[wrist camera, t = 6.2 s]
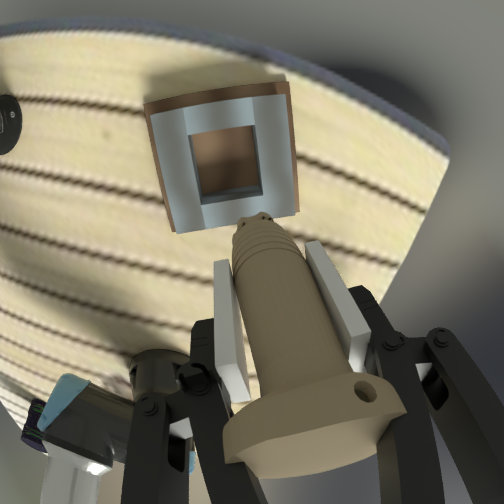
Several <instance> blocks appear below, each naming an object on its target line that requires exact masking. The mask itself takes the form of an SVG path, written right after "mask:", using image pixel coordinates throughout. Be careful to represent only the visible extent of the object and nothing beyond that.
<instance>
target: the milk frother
mask: <svg viewBox="0 0 504 504" xmlns="http://www.w3.org/2000/svg"><path fill="white" fill-rule="evenodd" d="M21 128H22V114H21V110H20V107H19V105H18V103H17V101H16V100H15V99H14V98H13V97H12V96H9V95H1V96H0V155H4V154H6V153H8V152H10V151H11V150H12V149H13V148H14V146H15V145H16V143H17V141H18V139H19V136H20V133H21Z"/></svg>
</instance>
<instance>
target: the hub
mask: <svg viewBox="0 0 504 504" xmlns="http://www.w3.org/2000/svg"><path fill="white" fill-rule="evenodd" d="M143 105H144V110H145V116H146V121H147V126H148V131H149V136H150V141H151V146H152V151H153V156H154V160H155V165H156V169H157V174H158V178H159V182H160V186H161V191H162V195H163V199H164V203H165V207H166V211H167V215H168V219H169V222H170V226H171V230H172V232H176V233H177V234H181V233H187V232H192V231H198V230H204V229H210V228H216V227H222V226H228V225H234V224H237V223H238V220H239V219H240V218H241V217H251V216H254V215H256V214H258V213H259V212H266V213H268V214H269V215H270V216H271V217H272V218H280V217H287V216H294V215H295V213H296V212H300V210H299V192H298V176H297V162H296V149H295V137H294V126H293V115H292V105H291V95H290V86H289V82H274V83H262V84H252V85H243V86H235V87H227V88H221V89H214V90H208V91H202V92H197V93H191V94H186V95H181V96H177V97H172V98H168V99H163V100H159V101H155V102H151V103H147V104H143Z"/></svg>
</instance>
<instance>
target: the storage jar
mask: <svg viewBox="0 0 504 504" xmlns="http://www.w3.org/2000/svg"><path fill="white" fill-rule="evenodd" d="M45 406H46V402H44V401H42V400H39V399H33V400H32V404H31V406H30V408H29V411H28V417H27V421H26V423H25V425H24V428H23V431H22V436H21V440H22V441H23V442H24V443H26V444H27V445H29V446H30V447H32V448H34V449H36V450H38V451H41V452H44V453H48V452H47V450H46V448H45V447H44V445H43V443H42V439H43V435H44V431H43V432H42V431H40V429H39V428H38V427H37V423H38V421H39V419H40V417H41V414H42V412H43V410H44V408H45Z"/></svg>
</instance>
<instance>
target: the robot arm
mask: <svg viewBox="0 0 504 504" xmlns="http://www.w3.org/2000/svg"><path fill="white" fill-rule="evenodd" d="M305 254H306V262H307V264H308V266H309V268H310V270H311V272H312V275H313V277H314V280H315V282H316V285H317V287H318V289H319V292H320V294H321V297H322V299H323V302H324V304H325V307H326V309H327V312H328V314H329V316H330V319H331V321H332V324H333V326H334V328H335V331H336V333H337V336H338V338H339V341H340V343H341V346H342V348H343V351H344V353H345V356H346V358H347V360H348V362H349V363H350V365H351V367H352V369H353V371H354V372H360V373H363V371H364V366H365V368H366V371H367V373H368V374H371V375H374V376H377V377H380V378H382V379H385V380H386V381H388V382H389V383H390V384H391V385H392V386H393V387H394V389H395V391H396V392H397V394H398V396H399V398H400V399H401V401H402V403H403V405H404V407H405V409H406V411H407V413H405V414H403V415H401V416H399V417H396V418H394V419H392V420H391V421H390V423H389V425H388V426H387V428H386V430H385V432H384V433H383V435H382V437H381V438H380V440H379V441H378V443H377V445H376V449H377V458H378V469H379V480H380V494H381V495H380V496H381V504H445V499H444V490H443V482H442V476H441V469H440V463H439V457H438V452H437V447H436V442H435V437H434V432H433V427H432V423H431V419H430V415H429V413H430V414H431V416H432V418H433V420H434V422H435V424H436V426H437V428H438V430H439V432H440V434H441V436H442V437H443V440H444V441H445V443H446V446H447V448H448V450H449V451H450V454H451V456H452V458H453V460H454V462H455V464H456V466H457V468H458V471H459V473H460V475H461V477H462V479H463V481H464V484H465V486H466V488H467V491H468V493H469V495H470V498H471V500H472V503H473V504H504V406H503V405H502V403H501V401H500V400H499V398H498V396H497V395H496V393H495V392H494V390H493V389H492V387H491V386H490V384H489V383H488V381H487V380H486V378H485V377H484V375H483V374H482V372H481V371H480V370H479V368H478V367H477V365H476V364H475V362H474V361H473V360H472V358H471V357H470V355H469V354H468V353H467V351H466V350H465V349H464V347H463V346H462V345H461V343H460V342H459V341H458V340H457V338H456V337H455V335H454V334H453V333H452V332H450V330H448V329H445V328H439V327H438V328H434V329H432V330H431V331H429V333H428V335H427V337H418V338H408V337H405V336H404V335H403V334H402V333H401V332H398V331H395V330H394V329H393V327H392V326H391V324H390V322H389V321H388V319H387V317H386V316H385V314H384V313H383V311H382V309H381V308H380V307H379V305H378V303H377V301H376V300H375V298H374V297H373V295H372V294H371V292H370V291H369V290H368V289H366V288H365V287H363V286H362V285H360V286H356V287H352V288H348V289H347V287H346V285H345V283H344V282H343V280H342V278H341V277H340V275H339V273H338V272H337V270H336V268H335V267H334V265H333V263H332V262H331V260H330V258H329V257H328V255H327V253H326V252H325V250H324V248H323V247H322V245H321V243H320V242H319V240H317V241H313V242H308V243H305ZM190 347H191V349H190V357H188V356H186V355H183V354H181V353H178V352H174V351H169V350H148V351H144V352H142V353H139V354H138V355H136V356H135V357H134V358H133V359H132V361H131V365H130V370H129V377H130V382H131V387H132V392H133V397H134V398H133V401H131V400H129V399H126V398H124V397H122V396H119V395H117V394H115V393H112V392H110V391H108V390H106V389H104V388H101V387H99V386H97V385H95V384H93V383H91V381H89V380H85V379H82V378H80V377H78V376H76V375H74V374H71V373H66V374H63V375H62V376H61V377H60V378H59V380H58V382H57V384H56V386H55V388H54V389H53V391H52V393H51V395H50V397H49V399H48V401H47V403H46V406H45V408H44V410H43V412H42V414H41V417H40V419H39V421H38V423H37V427H38V428H39V429H40V431H42V432H43V431H44V435H43V439H42V443H43V445H44V447H45V448H46V450H47V452H48V460H47V465H46V471H45V475H44V481H43V487H42V493H41V501H40V504H97V497H98V489H99V484H100V477H101V475H102V474H104V473H106V472H108V471H110V470H112V465H113V460H114V461H118V462H121V463H124V464H125V465H124V477H123V485H122V495H121V504H189V475H190V474H191V473H192V472H193V470H194V464H195V455H196V452H195V446H196V450H197V454H198V458H199V462H200V466H201V469H202V473H203V476H204V480H205V483H206V487H207V490H208V494H209V497H210V500H211V503H212V504H268V502H267V500H266V497H265V495H264V492H263V490H262V488H261V485H260V483H259V480H258V478H257V477H256V476H255V474H254V473H253V472H252V471H251V469H250V468H249V467H248V466H247V465H246V463H245V462H244V461H243V462H237V463H229V464H225V457H224V448H223V429H224V426H225V425H226V424H227V422H228V421H229V420H230V419H231V418H232V417H233V416H234V413H233V411H232V409H231V401H232V403H237V402H243V401H249V400H251V396H250V388H249V380H248V373H247V365H246V356H245V348H244V340H243V332H242V323H241V314H240V307H239V303H238V299H237V295H236V291H235V285H234V279H233V275H232V271H231V267H230V264H229V260H228V259H224V260H220V261H215V262H214V318H211V319H205V320H199V321H196V323H195V324H194V326H193V328H192V330H191V345H190Z"/></svg>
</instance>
